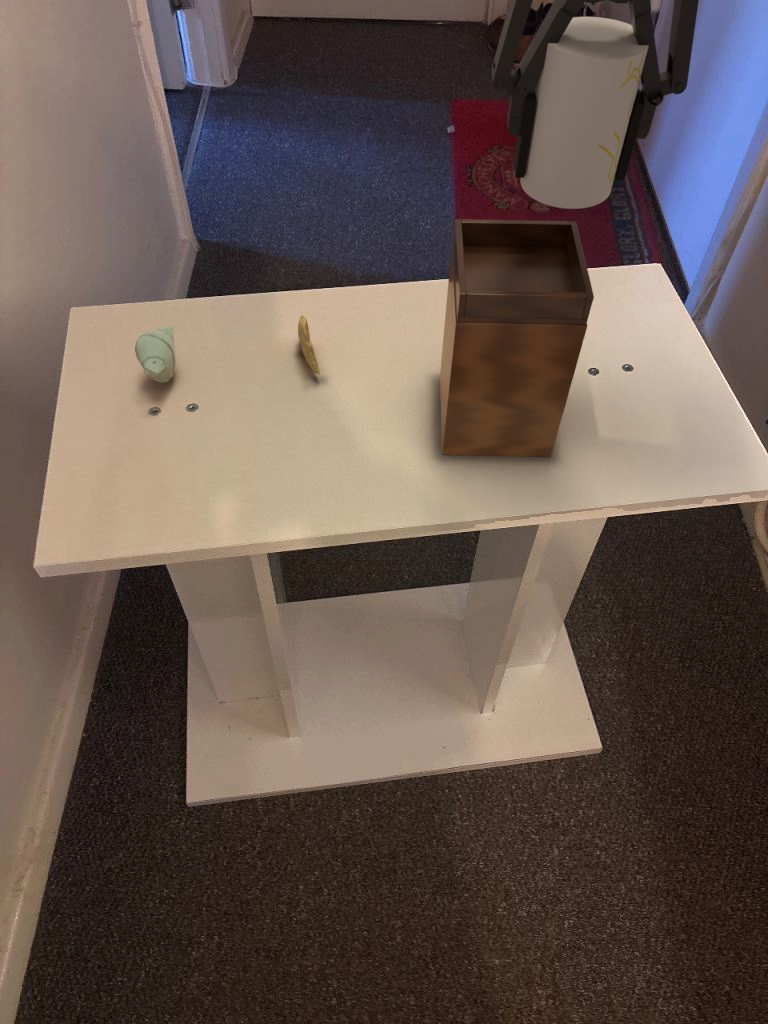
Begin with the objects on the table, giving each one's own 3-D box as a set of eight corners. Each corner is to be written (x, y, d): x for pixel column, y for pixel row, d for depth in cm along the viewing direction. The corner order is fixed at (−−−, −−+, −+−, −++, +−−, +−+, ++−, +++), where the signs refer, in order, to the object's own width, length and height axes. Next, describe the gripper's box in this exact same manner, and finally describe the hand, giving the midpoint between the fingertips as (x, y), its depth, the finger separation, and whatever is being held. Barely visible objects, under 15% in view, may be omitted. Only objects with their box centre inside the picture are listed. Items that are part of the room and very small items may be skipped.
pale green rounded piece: (172, 404, 87) (159, 359, 82) (138, 402, 87) (122, 357, 82) (187, 357, 92) (175, 312, 87) (154, 356, 92) (140, 311, 87)
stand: (539, 381, 90) (570, 248, 76) (551, 456, 83) (587, 325, 69) (439, 379, 90) (451, 246, 76) (442, 454, 83) (455, 323, 69)
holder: (569, 249, 76) (576, 221, 73) (586, 325, 69) (594, 296, 66) (452, 247, 76) (455, 218, 73) (456, 322, 69) (459, 294, 66)
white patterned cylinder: (611, 213, 65) (651, 63, 56) (517, 203, 66) (541, 54, 57) (610, 165, 70) (647, 20, 61) (523, 157, 71) (546, 13, 62)
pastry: (294, 338, 94) (291, 306, 90) (306, 336, 95) (303, 303, 91) (311, 385, 89) (307, 353, 85) (323, 383, 90) (321, 350, 86)
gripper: (784, -177, 51) (677, 153, 69) (475, -183, 52) (450, 147, 70) (818, -148, 47) (695, 197, 65) (479, -154, 47) (451, 190, 65)
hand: (568, 170), depth 67 cm, fingers closed on white patterned cylinder, 8 cm apart
